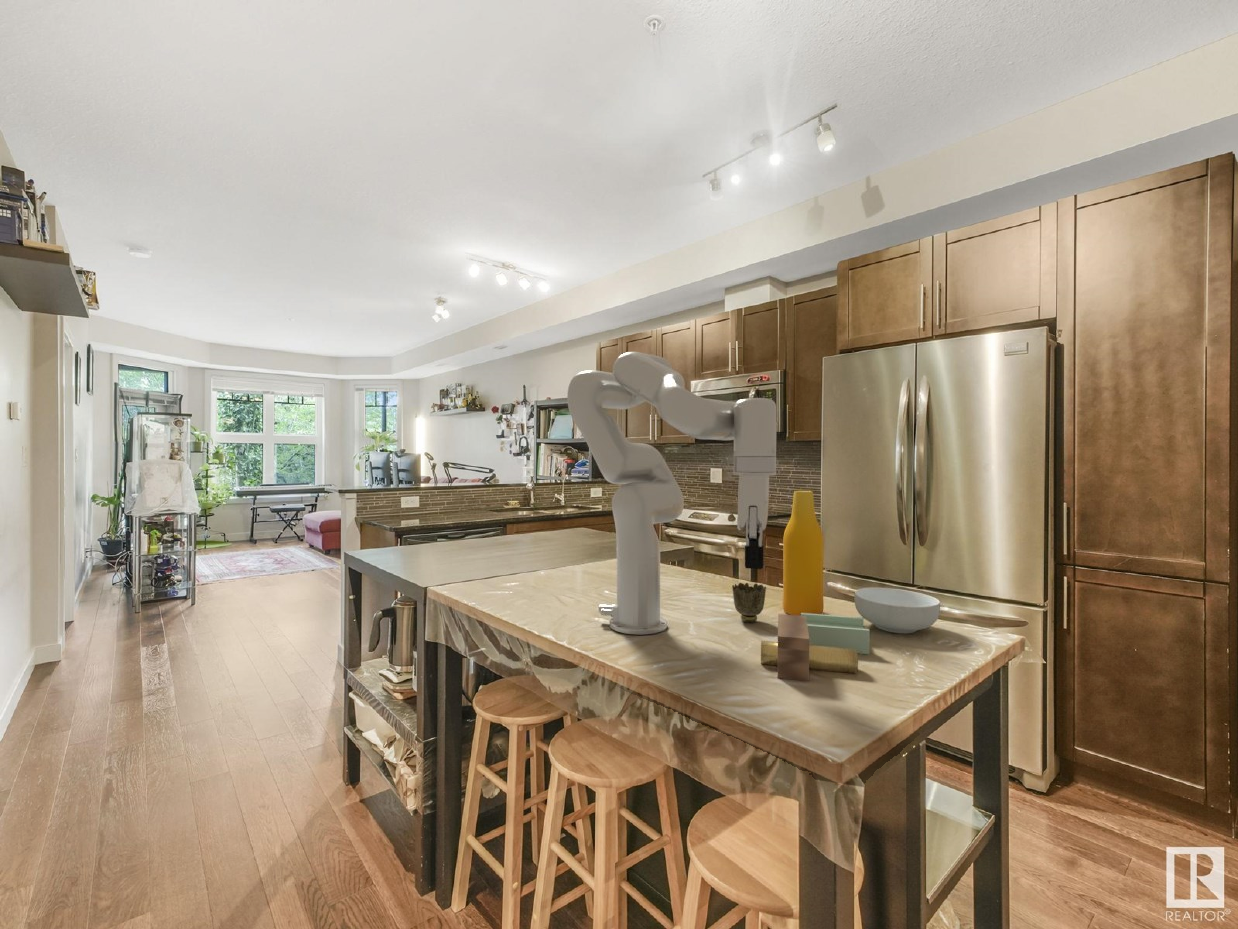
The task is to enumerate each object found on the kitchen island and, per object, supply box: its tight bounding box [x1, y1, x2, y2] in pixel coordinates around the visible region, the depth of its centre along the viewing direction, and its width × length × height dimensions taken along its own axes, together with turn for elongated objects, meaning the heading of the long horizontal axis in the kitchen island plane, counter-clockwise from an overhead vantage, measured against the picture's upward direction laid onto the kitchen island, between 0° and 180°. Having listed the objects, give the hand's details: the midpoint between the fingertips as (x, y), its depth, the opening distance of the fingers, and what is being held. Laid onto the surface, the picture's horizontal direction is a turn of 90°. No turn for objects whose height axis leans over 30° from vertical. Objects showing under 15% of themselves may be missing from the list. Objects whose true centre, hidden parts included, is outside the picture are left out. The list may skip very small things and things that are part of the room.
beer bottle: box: [782, 490, 825, 616], centre depth 134 cm, size 9×9×29 cm
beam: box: [777, 613, 810, 682], centre depth 100 cm, size 5×14×7 cm, turn 164°
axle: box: [760, 640, 859, 674], centre depth 99 cm, size 16×4×4 cm, turn 74°
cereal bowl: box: [853, 587, 941, 634], centre depth 122 cm, size 17×17×7 cm
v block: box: [801, 613, 871, 655], centre depth 111 cm, size 12×9×4 cm
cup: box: [731, 582, 767, 624], centre depth 127 cm, size 8×7×8 cm
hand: (754, 567), depth 102 cm, fingers closed
